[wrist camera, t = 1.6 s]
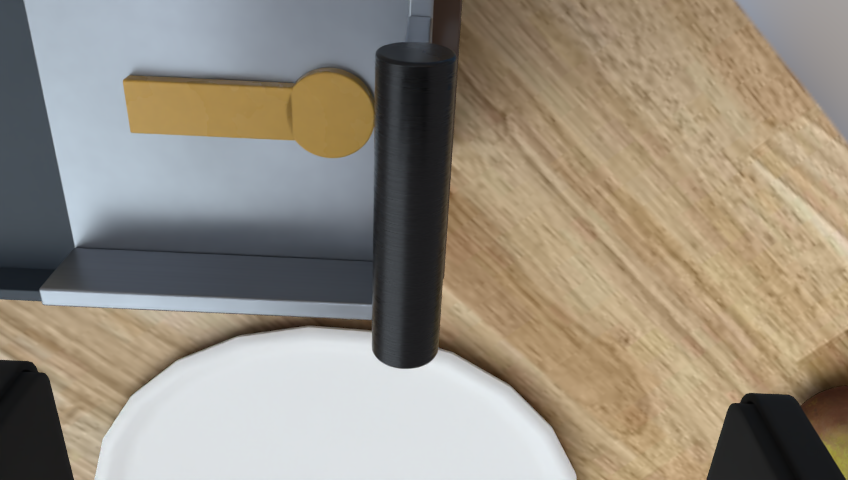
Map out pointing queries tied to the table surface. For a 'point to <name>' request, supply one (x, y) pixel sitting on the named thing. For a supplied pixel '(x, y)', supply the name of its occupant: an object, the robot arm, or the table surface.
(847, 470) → the fruit
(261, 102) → the key
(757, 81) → the table surface
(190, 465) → the plate
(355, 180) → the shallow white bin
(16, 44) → the tray
